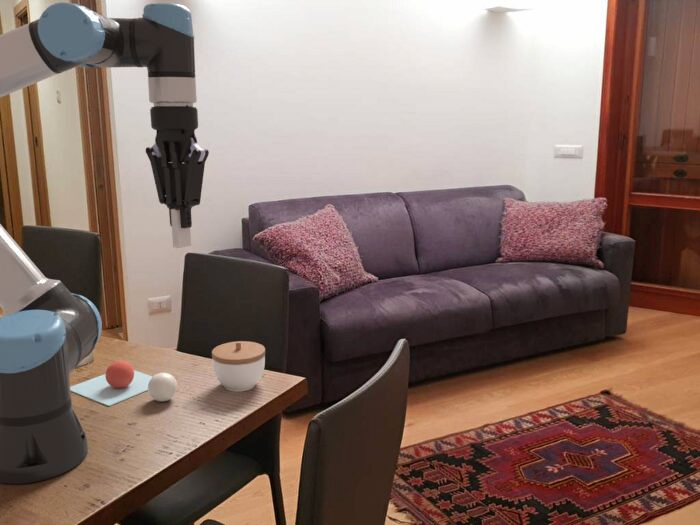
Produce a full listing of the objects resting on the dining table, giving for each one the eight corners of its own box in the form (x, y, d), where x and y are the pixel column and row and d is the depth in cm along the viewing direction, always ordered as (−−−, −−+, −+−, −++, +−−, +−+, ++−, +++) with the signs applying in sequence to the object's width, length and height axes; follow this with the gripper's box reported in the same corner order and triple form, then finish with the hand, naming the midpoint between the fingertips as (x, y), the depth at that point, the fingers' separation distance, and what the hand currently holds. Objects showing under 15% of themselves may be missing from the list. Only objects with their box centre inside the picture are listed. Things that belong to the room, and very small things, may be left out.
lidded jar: (271, 376, 141) (270, 334, 139) (259, 397, 131) (258, 352, 129) (221, 374, 142) (220, 332, 140) (206, 395, 132) (204, 350, 130)
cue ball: (146, 368, 128) (141, 393, 130) (157, 383, 124) (152, 408, 126) (172, 366, 132) (167, 390, 133) (184, 380, 128) (179, 405, 129)
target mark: (167, 382, 138) (167, 381, 138) (109, 406, 127) (108, 405, 127) (124, 367, 146) (124, 366, 146) (66, 389, 134) (65, 388, 134)
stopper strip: (48, 376, 141) (46, 365, 140) (42, 374, 142) (41, 363, 141) (93, 361, 149) (92, 350, 149) (88, 359, 151) (87, 348, 150)
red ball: (106, 358, 132) (97, 374, 135) (117, 380, 130) (107, 396, 133) (131, 353, 137) (122, 369, 139) (142, 375, 134) (132, 390, 137)
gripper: (218, 105, 108) (225, 246, 114) (164, 105, 116) (173, 238, 121) (183, 104, 102) (192, 254, 108) (129, 105, 110) (139, 245, 115)
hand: (182, 246), depth 114 cm, fingers closed
